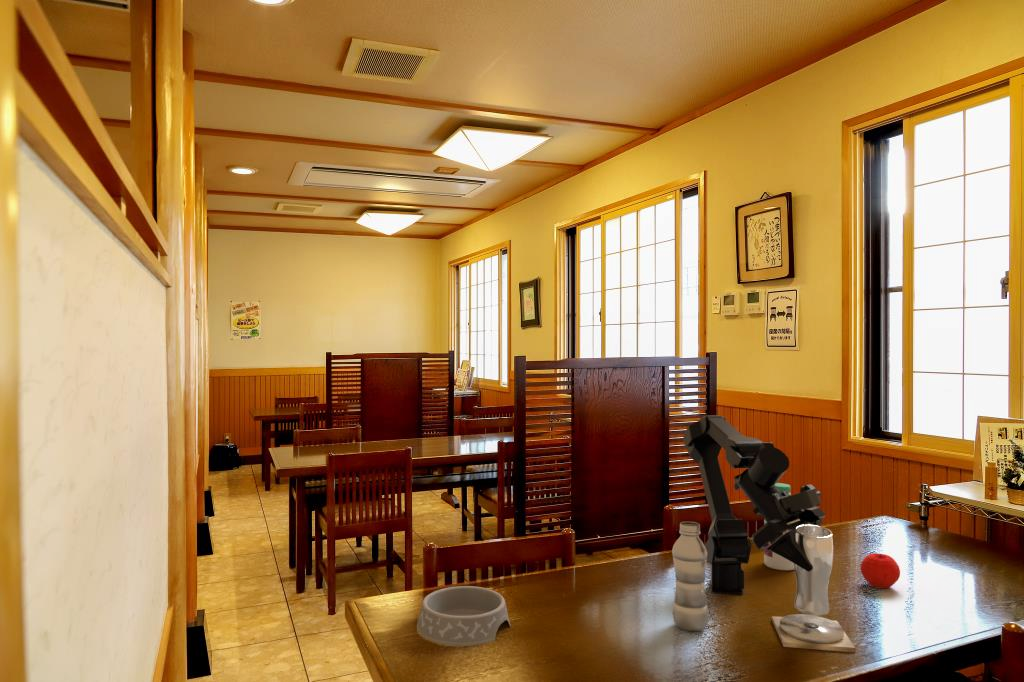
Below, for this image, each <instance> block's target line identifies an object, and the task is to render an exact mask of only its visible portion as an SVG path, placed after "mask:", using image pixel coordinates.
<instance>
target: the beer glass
mask: <svg viewBox="0 0 1024 682" xmlns="http://www.w3.org/2000/svg"><path fill="white" fill-rule="evenodd" d="M794 529H795V531H796V542H797V543H798V545H799V546H800V548H801V549H802V551H803V553H804V555H805V556H806V558H807V559H808V561H809V562H810V563H811V565H812V567H813V569H812V570H811V571H809V572H808V571H806V570H805V569H803V568H801V567H799V566H798V565H796V564H794V574H795V580H796V591H795V593H796V594H795V598H794V605H793V606H794V608H795V609H796V610H797V611H799V612H801V613H802V614H806V615H814V616H819V617H821V616H824V615H827V614H829V613H830V604H829V597H828V587H829V583H830V579H831V574H832V570H833V563H834V543H833V542H834V541H833V532H832V530H830V529H829V528H826V527H824V526H816V525H799V526H797V527H795V528H794Z"/></svg>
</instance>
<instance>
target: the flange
mask: <svg viewBox="0 0 1024 682" xmlns="http://www.w3.org/2000/svg"><path fill="white" fill-rule="evenodd" d="M781 617H782V618H781V619H780V629H781V631H782V632H783V633H785V634H786V635H788V636H790V637H792V638H794V639H797V640H800V641H804V642H809V643H815V644H833V643H837V642H840V641H842V640H843V638H844V632H845V630H844V628H843V626H841V625H840V623H839V624H837V623H836V622H834V621H835V620H831V619H829V618H826V617H823V616H816V615H809V614H805V613H801V614H800V613H797V614H796V613H795V614H794V613H793V614H788V615H784V616H781Z"/></svg>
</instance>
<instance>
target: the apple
mask: <svg viewBox="0 0 1024 682" xmlns="http://www.w3.org/2000/svg"><path fill="white" fill-rule="evenodd" d="M860 572H861V574H862V576H863V578H864V580H865V581H866V582H867V583H868V585H869V586H871V587H873V588H877V589H888V588H890V587H893V586H894V585H895V584H896V582H898V581H899V578H900V576H901V570H900V566H899V564H898V563H897V562H896V560H895V559H894V558H893V557H892V556H890V555H888V554H884V553H869V554H867V555H866V556H865V557H864V558H863V559H862V561H861V563H860Z"/></svg>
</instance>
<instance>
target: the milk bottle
mask: <svg viewBox="0 0 1024 682" xmlns="http://www.w3.org/2000/svg"><path fill="white" fill-rule="evenodd" d="M775 486H776V487H777V488H778V490H779V491H787V492H788V493H789V495H790V496H791V495H792V494H791V490H792V489H791V485H790V484H788V483H787V484H786V483H781V482H777V483H776V484H775ZM763 519H764V518H763ZM766 523H767V522H766V521H765V519H764V520H763V525H764V524H766ZM769 546H771V544H770V542H768V546H767V547H765V548H763V563H764V565H765V566H766V567H768V568H769V569H773V570H779V571H793V570H794V563H793V562H791V561H789V560H787V559H786V558H784V557H782V556H780V555H778V554H776V553H774V552H772V551H768V550H767V548H768V547H769ZM794 571H795V570H794Z"/></svg>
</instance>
